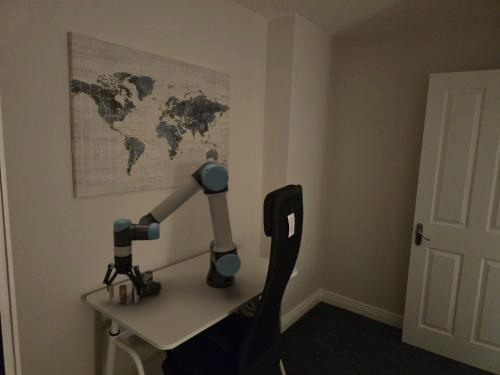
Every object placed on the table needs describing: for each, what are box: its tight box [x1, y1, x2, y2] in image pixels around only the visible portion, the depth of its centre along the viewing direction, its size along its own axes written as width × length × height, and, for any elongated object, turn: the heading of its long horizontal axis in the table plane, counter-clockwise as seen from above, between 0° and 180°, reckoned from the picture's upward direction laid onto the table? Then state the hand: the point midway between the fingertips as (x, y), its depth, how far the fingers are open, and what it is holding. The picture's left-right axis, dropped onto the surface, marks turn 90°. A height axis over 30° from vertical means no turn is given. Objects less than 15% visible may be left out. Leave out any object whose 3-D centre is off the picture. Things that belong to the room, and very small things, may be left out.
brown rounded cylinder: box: [118, 284, 128, 304], centre depth 149 cm, size 3×3×8 cm
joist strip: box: [117, 291, 132, 306], centre depth 156 cm, size 4×17×1 cm, turn 171°
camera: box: [131, 269, 162, 302], centre depth 157 cm, size 16×10×10 cm, turn 170°
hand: (124, 300), depth 149 cm, fingers open, 11 cm apart
